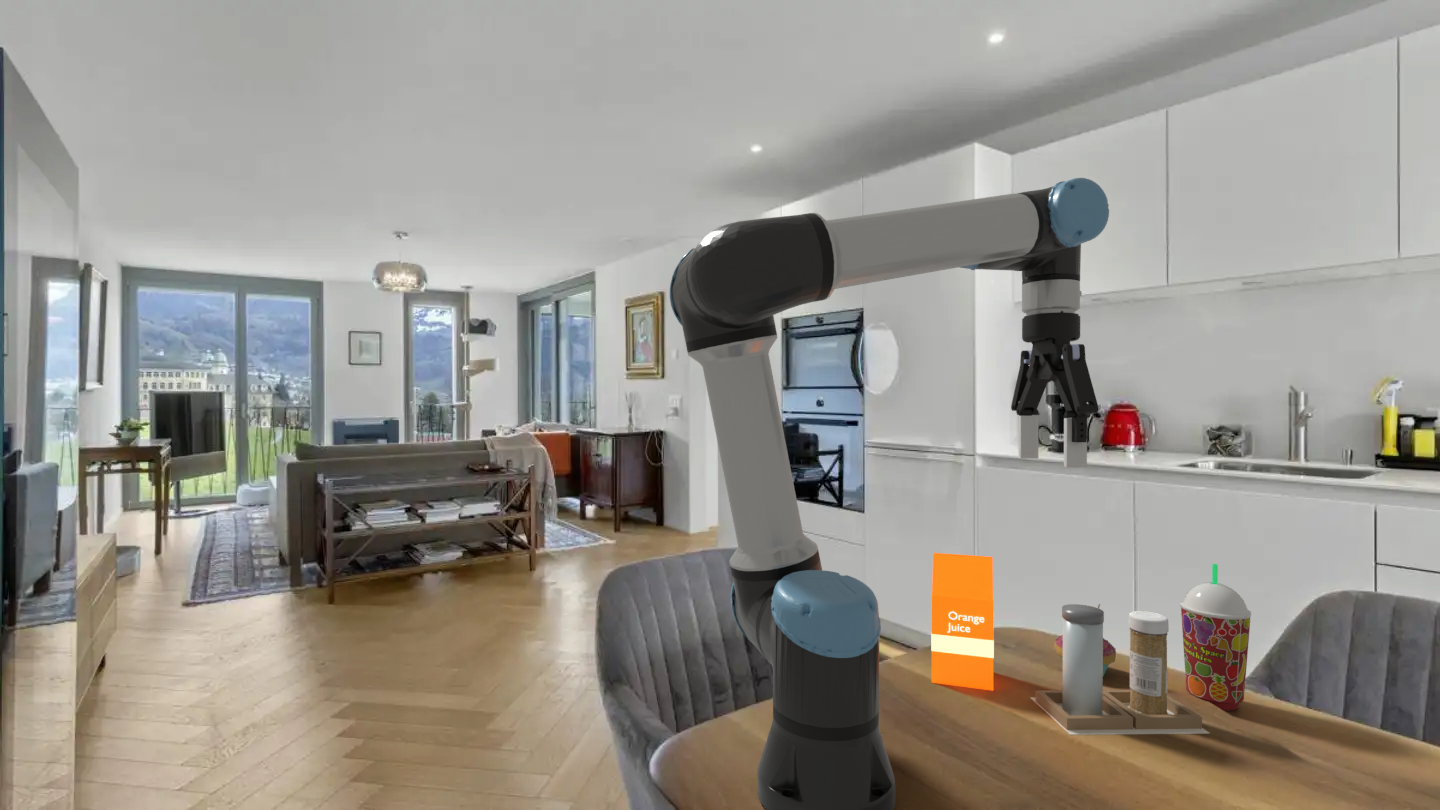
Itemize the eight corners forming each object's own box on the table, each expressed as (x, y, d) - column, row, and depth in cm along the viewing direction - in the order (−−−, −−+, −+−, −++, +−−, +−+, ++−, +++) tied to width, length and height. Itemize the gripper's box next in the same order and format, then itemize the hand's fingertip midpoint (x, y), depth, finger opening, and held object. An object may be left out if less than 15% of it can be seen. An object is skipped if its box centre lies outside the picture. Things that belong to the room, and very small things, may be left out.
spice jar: (1174, 716, 94) (1175, 616, 94) (1157, 724, 91) (1158, 622, 91) (1138, 703, 98) (1139, 607, 97) (1121, 711, 95) (1122, 613, 95)
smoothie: (1166, 695, 103) (1166, 560, 103) (1205, 687, 106) (1206, 555, 106) (1223, 719, 95) (1224, 573, 95) (1264, 710, 98) (1265, 568, 98)
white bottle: (1073, 723, 92) (1074, 615, 92) (1054, 706, 97) (1055, 604, 97) (1111, 722, 92) (1111, 615, 92) (1090, 706, 97) (1090, 604, 97)
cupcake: (1116, 674, 111) (1116, 599, 111) (1114, 694, 104) (1115, 613, 104) (1057, 664, 115) (1057, 591, 115) (1051, 682, 108) (1051, 604, 108)
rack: (1070, 743, 89) (1070, 722, 89) (1030, 705, 100) (1030, 686, 100) (1210, 742, 89) (1210, 721, 89) (1154, 704, 100) (1154, 685, 100)
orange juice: (933, 671, 112) (933, 547, 112) (992, 679, 109) (992, 551, 109) (930, 690, 105) (931, 558, 105) (994, 699, 102) (994, 562, 102)
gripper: (1129, 301, 87) (1128, 471, 88) (1035, 323, 112) (1035, 455, 112) (1070, 301, 87) (1069, 471, 87) (989, 323, 112) (989, 455, 112)
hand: (1050, 462), depth 100 cm, fingers open, 13 cm apart
